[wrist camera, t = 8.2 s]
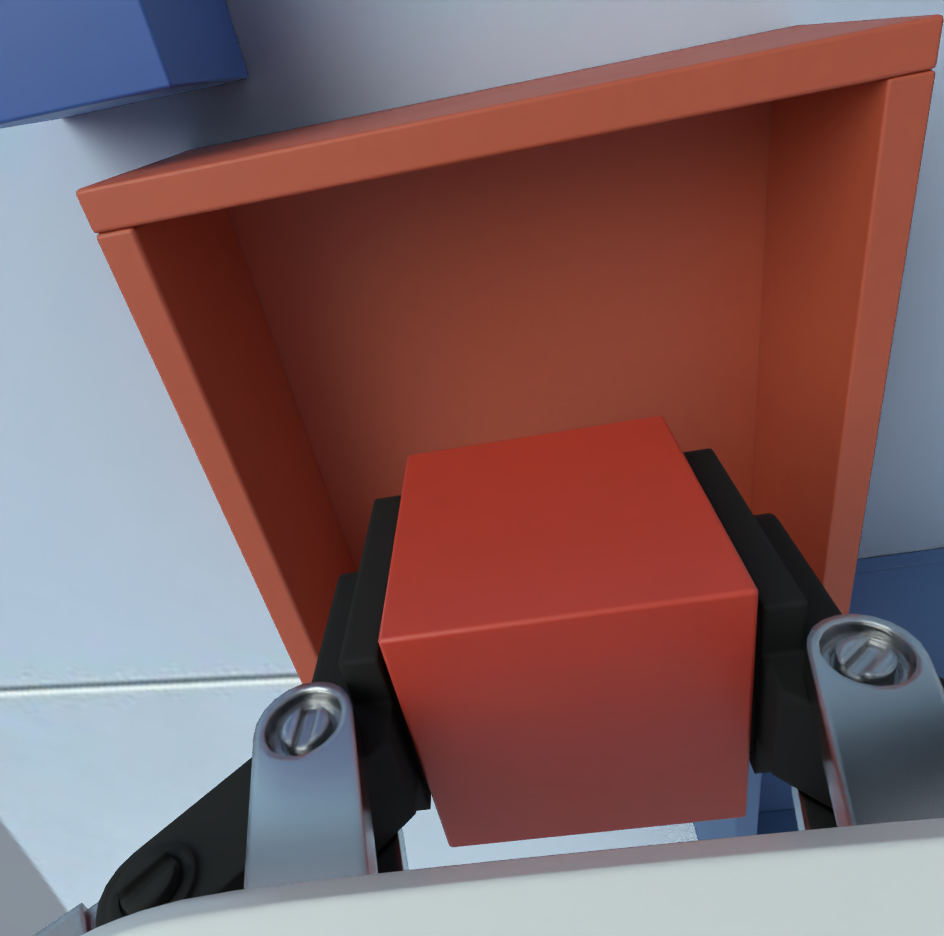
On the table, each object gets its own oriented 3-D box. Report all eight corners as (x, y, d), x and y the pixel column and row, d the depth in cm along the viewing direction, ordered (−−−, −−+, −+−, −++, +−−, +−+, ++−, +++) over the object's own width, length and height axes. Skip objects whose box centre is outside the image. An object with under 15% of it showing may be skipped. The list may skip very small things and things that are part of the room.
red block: (406, 454, 12) (375, 641, 8) (663, 413, 11) (761, 590, 7) (455, 635, 14) (448, 850, 10) (669, 607, 13) (747, 818, 10)
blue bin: (687, 581, 22) (741, 712, 18) (1127, 522, 21) (1300, 647, 16) (690, 813, 29) (729, 948, 25) (1019, 779, 28) (1121, 915, 23)
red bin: (186, 151, 15) (72, 190, 11) (797, 24, 14) (946, 12, 10) (348, 591, 22) (319, 722, 18) (765, 532, 21) (842, 659, 17)
